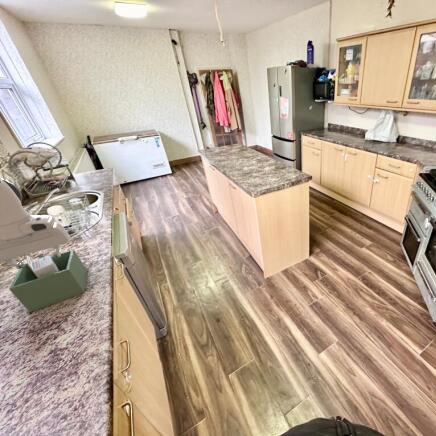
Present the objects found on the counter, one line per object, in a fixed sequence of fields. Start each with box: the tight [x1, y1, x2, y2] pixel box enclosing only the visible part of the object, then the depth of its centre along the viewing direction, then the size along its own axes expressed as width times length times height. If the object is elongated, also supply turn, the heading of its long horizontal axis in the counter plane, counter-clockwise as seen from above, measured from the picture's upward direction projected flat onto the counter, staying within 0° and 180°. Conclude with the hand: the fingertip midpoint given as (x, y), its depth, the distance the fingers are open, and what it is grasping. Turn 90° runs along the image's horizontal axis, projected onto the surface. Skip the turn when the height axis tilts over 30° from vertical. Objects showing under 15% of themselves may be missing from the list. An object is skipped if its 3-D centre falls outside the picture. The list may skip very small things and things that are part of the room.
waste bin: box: [9, 248, 88, 313], centre depth 84 cm, size 15×15×11 cm
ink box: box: [25, 254, 60, 278], centre depth 83 cm, size 9×5×15 cm, turn 49°
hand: (40, 261), depth 80 cm, fingers open, 8 cm apart
